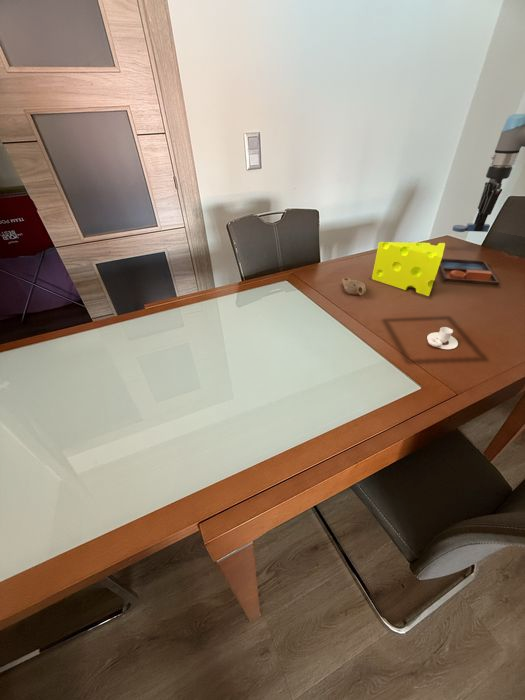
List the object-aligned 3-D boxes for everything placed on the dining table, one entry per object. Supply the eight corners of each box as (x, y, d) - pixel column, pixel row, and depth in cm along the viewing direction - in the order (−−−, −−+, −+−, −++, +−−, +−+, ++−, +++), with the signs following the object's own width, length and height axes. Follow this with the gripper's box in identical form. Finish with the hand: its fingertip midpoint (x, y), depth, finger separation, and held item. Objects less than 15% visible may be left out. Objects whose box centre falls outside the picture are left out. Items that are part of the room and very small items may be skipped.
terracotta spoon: (486, 275, 115) (489, 269, 113) (490, 282, 111) (493, 275, 109) (448, 273, 118) (450, 266, 116) (450, 279, 114) (453, 272, 113)
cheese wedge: (405, 303, 104) (417, 262, 94) (371, 279, 119) (378, 241, 109) (451, 292, 108) (467, 252, 99) (412, 270, 123) (423, 233, 113)
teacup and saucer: (430, 351, 84) (435, 339, 81) (419, 334, 90) (423, 323, 87) (462, 350, 84) (468, 338, 81) (449, 333, 90) (453, 321, 87)
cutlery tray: (483, 265, 124) (485, 260, 122) (497, 287, 109) (499, 282, 108) (435, 262, 128) (437, 257, 127) (443, 283, 114) (445, 278, 112)
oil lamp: (336, 285, 116) (337, 273, 113) (354, 282, 117) (356, 270, 114) (352, 302, 106) (354, 289, 103) (371, 299, 107) (374, 286, 104)
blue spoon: (485, 229, 130) (487, 222, 128) (488, 233, 126) (491, 226, 124) (451, 227, 133) (453, 221, 131) (453, 231, 129) (455, 225, 128)
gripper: (484, 162, 120) (463, 224, 135) (495, 169, 109) (471, 235, 124) (506, 162, 118) (482, 224, 133) (520, 169, 107) (492, 236, 122)
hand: (476, 229), depth 128 cm, fingers closed on blue spoon, 2 cm apart
